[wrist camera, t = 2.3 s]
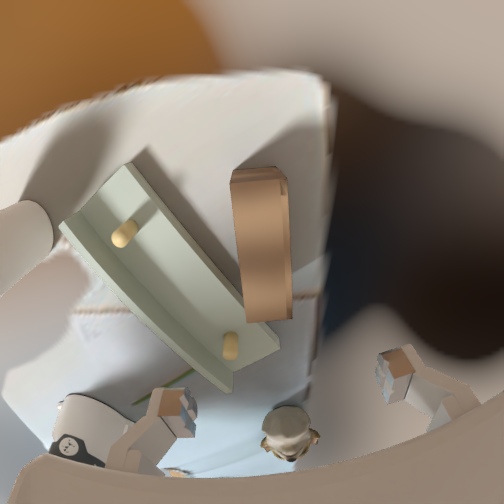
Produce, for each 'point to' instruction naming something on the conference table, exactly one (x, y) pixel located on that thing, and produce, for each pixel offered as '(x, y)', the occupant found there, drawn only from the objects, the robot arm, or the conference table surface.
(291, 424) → the ceramic sculpture
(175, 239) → the ledge
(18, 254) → the pill bottle
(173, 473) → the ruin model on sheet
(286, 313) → the wooden box
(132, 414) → the conference table surface
